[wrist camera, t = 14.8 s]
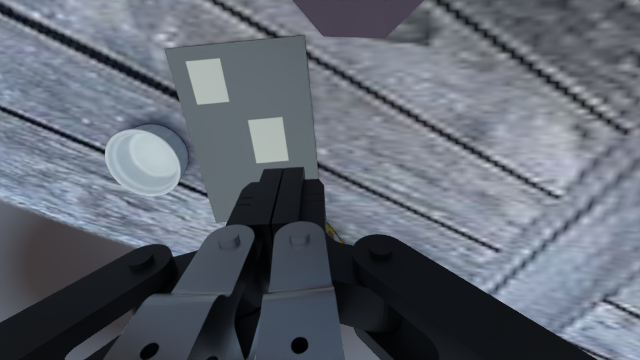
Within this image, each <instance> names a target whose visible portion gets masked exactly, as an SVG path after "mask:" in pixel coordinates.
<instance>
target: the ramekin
mask: <svg viewBox="0 0 640 360" xmlns="http://www.w3.org/2000/svg"><path fill="white" fill-rule="evenodd" d="M105 160H106V164H107V167H108V169H109V171H110V173H111V174H112V176H113V177H114V178H115V179H116V180H117V181H118V182H119V183H120V184H121V185H122V186H124V187H125V188H127V189H128V190H130V191H132V192H134V193H137V194H140V195H145V196H160V195H164V194H166V193H168V192H170V191H171V190H173V189H174V188H175V187H176V185H177V184H178V182H179V180H180V178H181V176H182V174H183V173H184V171H185V170H186V167H187V163H188V152H187V149H186V146H185V144H184V143H183V141H182V140H181V139H180V137H179V136H178V135H176V134H175V133H174V132H173V131H171V130H170V129H168V128H166V127H163V126H160V125H154V124H148V125H142V126H139V127H136V128H133V129H128V130H124V131H121V132H119V133H117V134H115V135H114V136H113V137H112V138H111V139H110V140H109V142H108V143H107V146H106V150H105Z"/></svg>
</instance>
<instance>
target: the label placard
mask: <svg viewBox="0 0 640 360" xmlns="http://www.w3.org/2000/svg"><path fill="white" fill-rule="evenodd" d="M165 53H166V56H167V59H168V63H169V66H170V70H171V73H172V76H173V80H174V83H175V86H176V90H177V93H178V96H179V100H180V103H181V107H182V110H183V113H184V117H185V120H186V123H187V127H188V130H189V133H190V137H191V140H192V144H193V147H194V150H195V154H196V157H197V160H198V164H199V167H200V170H201V174H202V177H203V180H204V184H205V187H206V191H207V194H208V197H209V201H210V204H211V207H212V211H213V214H214V217H215V221H216V223H219V222H227V221H228V219H229V217H230V215H231V213H232V210H233V208H234V206H235V204H236V202H237V199H238V197H239V195H240V193H241V191H242V189H243V188H244V187H246V186H247V185H248V184H249V183H250V182H259V181H260V178H261V175H262V173H263V170H264V169H272V168H290V167H304V169H305V179H319V177H318V167H317V157H316V147H315V137H314V127H313V117H312V107H311V97H310V87H309V77H308V67H307V57H306V47H305V37H304V35H303V36H293V37H283V38H272V39H262V40H252V41H242V42H232V43H221V44H211V45H201V46H191V47H180V48H170V49H165Z"/></svg>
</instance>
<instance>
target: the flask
mask: <svg viewBox="0 0 640 360" xmlns="http://www.w3.org/2000/svg"><path fill="white" fill-rule="evenodd" d="M293 1H294V2H295V3H296V5H297V6H298V7H299V8H300V9H301V11H302V12H303V13H304V14H305V15H306V16H307V18H308V19H309V20H310V21H311V22H312V23H313V25H314V26H315V27H316V28H317V29H318V31H319V32H320V33H321V34H322V35H323V36H333V37H367V38H385V37H386V36H387V35H388V34H390V33H391V32H392V31H393V30H394V29H395V28H396V27H397V26H398V25H399V24H400V23H401V22H402V21H403V20H404V19H405V18H406V17H407V16H408V15H409V14H410V13H411V12H412V11H413V10H414V9H415V8H416V7H418V6H419V5H420V4H421V3H422V2H423V1H424V0H293Z"/></svg>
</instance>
